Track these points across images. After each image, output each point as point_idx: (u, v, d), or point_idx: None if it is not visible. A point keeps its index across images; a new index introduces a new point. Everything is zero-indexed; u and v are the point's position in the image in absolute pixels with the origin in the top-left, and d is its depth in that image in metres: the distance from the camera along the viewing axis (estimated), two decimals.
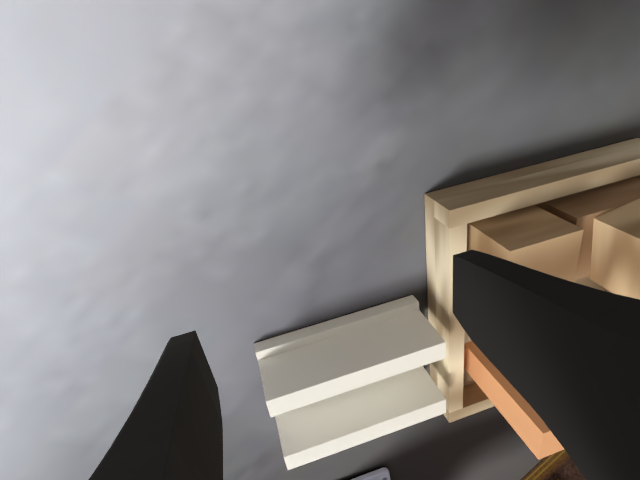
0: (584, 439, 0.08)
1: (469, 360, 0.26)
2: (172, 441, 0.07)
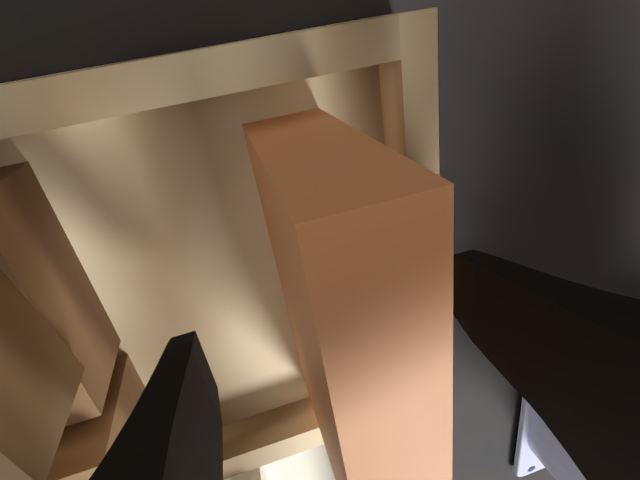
0: (584, 439, 0.08)
1: None
2: (172, 441, 0.07)
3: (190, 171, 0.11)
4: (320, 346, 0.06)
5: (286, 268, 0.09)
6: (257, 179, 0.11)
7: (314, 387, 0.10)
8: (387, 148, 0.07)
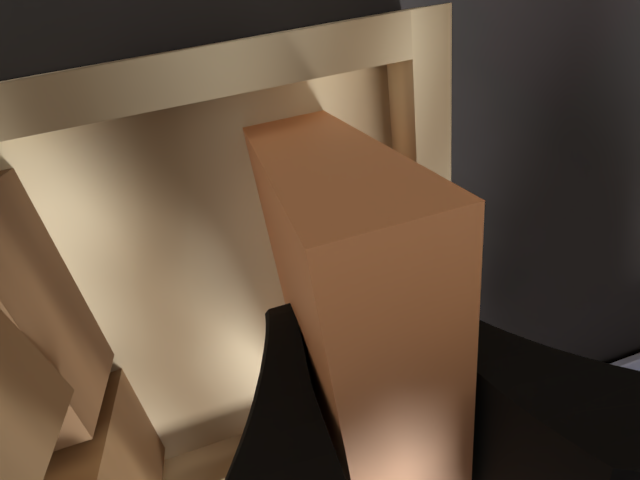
0: None
1: None
2: None
3: (187, 177, 0.11)
4: (332, 380, 0.05)
5: (290, 284, 0.08)
6: (258, 186, 0.10)
7: (320, 409, 0.10)
8: (403, 157, 0.07)
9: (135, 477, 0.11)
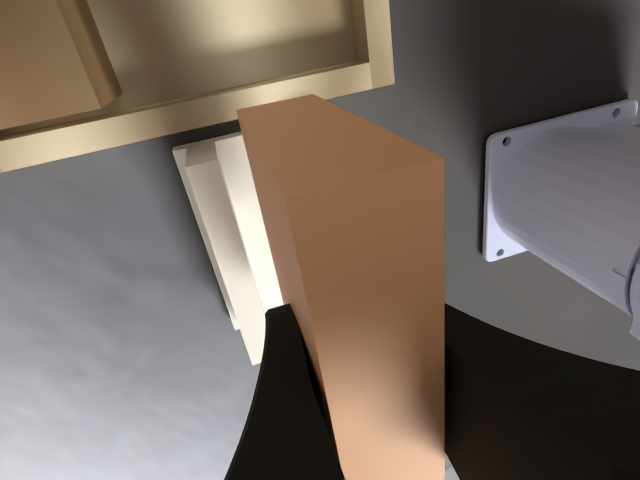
0: None
1: None
2: None
3: None
4: (311, 323, 0.06)
5: (279, 251, 0.09)
6: (251, 165, 0.11)
7: None
8: (379, 128, 0.07)
9: (84, 34, 0.12)
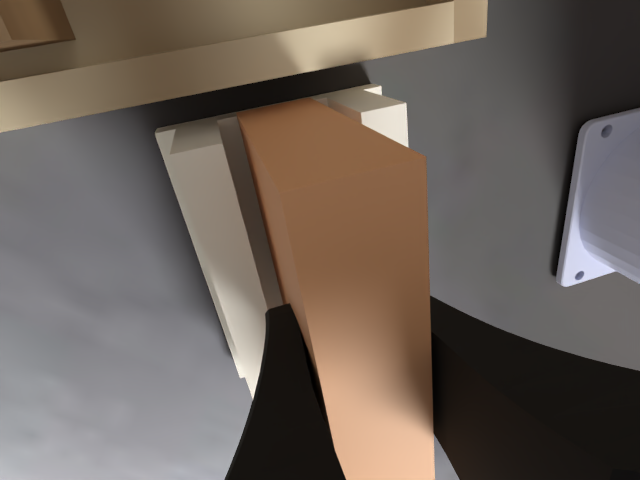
0: None
1: None
2: None
3: None
4: (305, 310, 0.06)
5: (277, 246, 0.09)
6: (250, 165, 0.11)
7: None
8: (370, 130, 0.08)
9: None
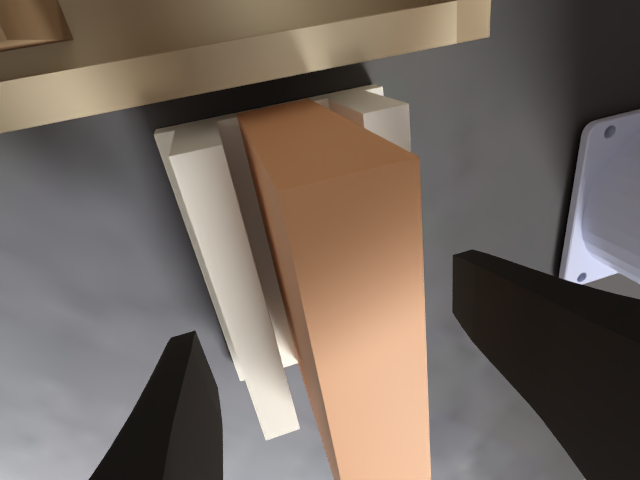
0: (584, 439, 0.08)
1: None
2: (172, 441, 0.07)
3: None
4: (303, 305, 0.07)
5: (276, 244, 0.09)
6: (250, 165, 0.11)
7: (303, 359, 0.11)
8: (366, 131, 0.08)
9: None
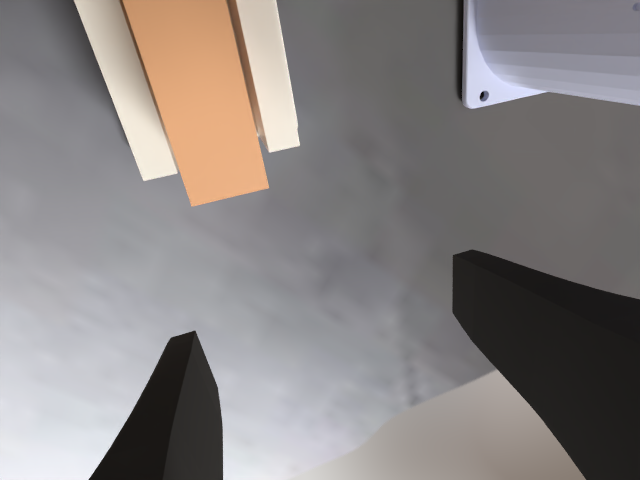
0: (584, 439, 0.08)
1: None
2: (172, 441, 0.07)
3: None
4: None
5: None
6: None
7: None
8: None
9: None
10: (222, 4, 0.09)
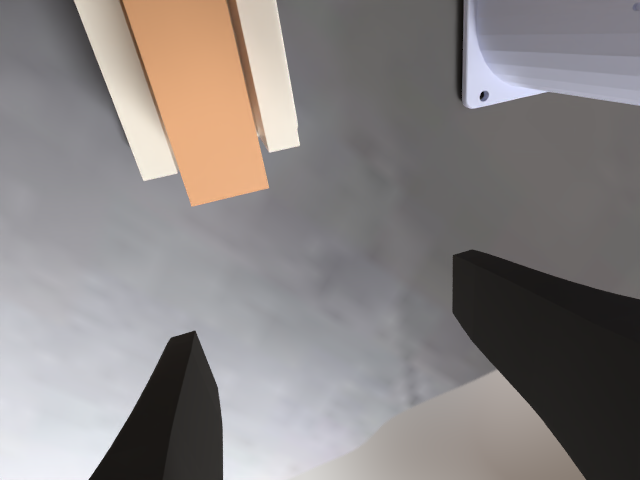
0: (584, 439, 0.08)
1: None
2: (172, 441, 0.07)
3: None
4: None
5: None
6: None
7: None
8: None
9: None
10: (222, 4, 0.09)
